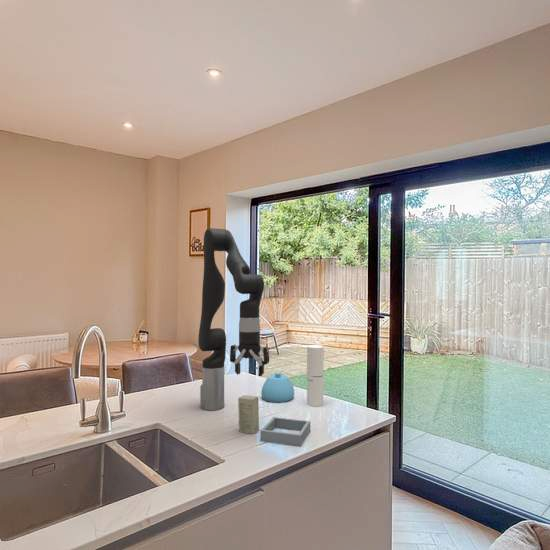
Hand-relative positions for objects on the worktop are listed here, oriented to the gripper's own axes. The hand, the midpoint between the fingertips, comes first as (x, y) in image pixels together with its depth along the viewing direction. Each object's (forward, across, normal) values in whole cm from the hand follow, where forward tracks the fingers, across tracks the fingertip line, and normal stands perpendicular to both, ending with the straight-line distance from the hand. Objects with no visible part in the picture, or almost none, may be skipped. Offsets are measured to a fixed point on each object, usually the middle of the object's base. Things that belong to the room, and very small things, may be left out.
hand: (249, 374), depth 148 cm
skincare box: (+20, 0, 0) cm, 20 cm away
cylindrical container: (+20, +16, +38) cm, 46 cm away
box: (+20, +14, 0) cm, 24 cm away
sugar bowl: (+20, -2, +41) cm, 46 cm away
